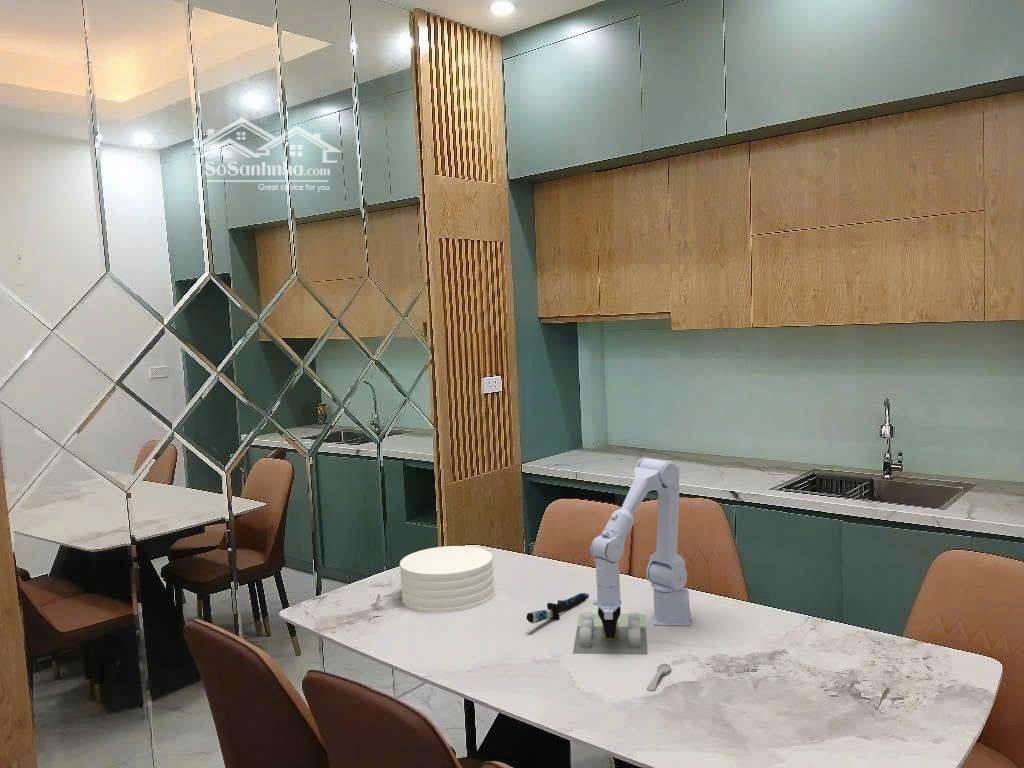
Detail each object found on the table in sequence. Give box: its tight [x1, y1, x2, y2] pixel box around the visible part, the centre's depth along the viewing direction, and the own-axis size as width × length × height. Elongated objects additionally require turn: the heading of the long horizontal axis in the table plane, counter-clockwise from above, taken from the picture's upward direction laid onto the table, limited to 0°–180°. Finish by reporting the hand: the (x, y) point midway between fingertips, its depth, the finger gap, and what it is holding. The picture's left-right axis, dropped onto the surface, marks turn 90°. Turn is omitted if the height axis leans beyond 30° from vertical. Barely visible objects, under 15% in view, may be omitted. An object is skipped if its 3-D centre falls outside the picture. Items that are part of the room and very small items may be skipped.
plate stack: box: [399, 545, 495, 614], centre depth 234 cm, size 28×28×12 cm
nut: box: [602, 623, 619, 640], centre depth 197 cm, size 4×5×3 cm
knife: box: [526, 592, 590, 625], centre depth 213 cm, size 31×3×4 cm, turn 140°
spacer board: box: [572, 612, 649, 656], centre depth 199 cm, size 18×26×4 cm
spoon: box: [646, 663, 672, 692], centre depth 173 cm, size 3×12×2 cm, turn 151°
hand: (610, 636), depth 193 cm, fingers closed
